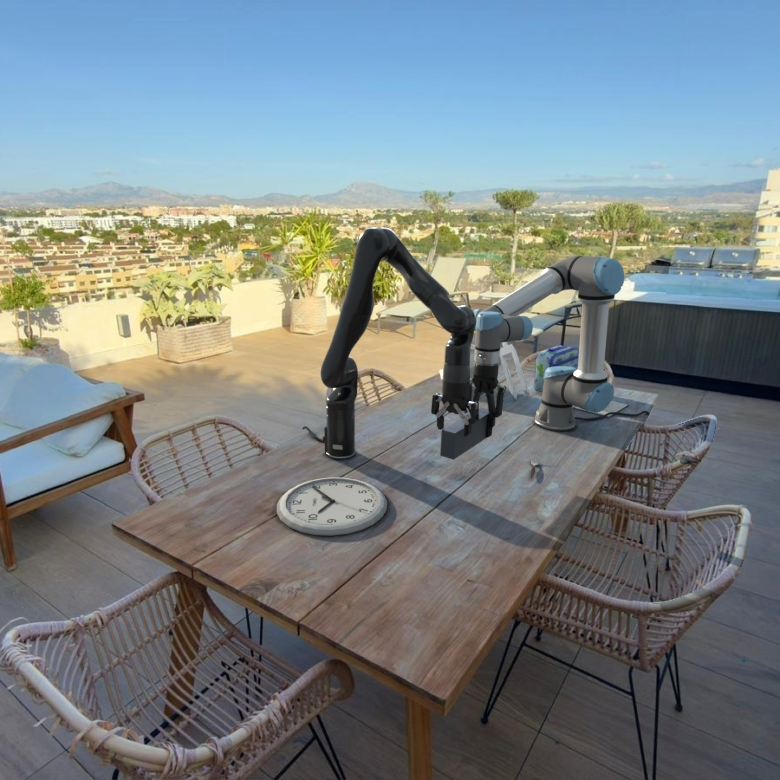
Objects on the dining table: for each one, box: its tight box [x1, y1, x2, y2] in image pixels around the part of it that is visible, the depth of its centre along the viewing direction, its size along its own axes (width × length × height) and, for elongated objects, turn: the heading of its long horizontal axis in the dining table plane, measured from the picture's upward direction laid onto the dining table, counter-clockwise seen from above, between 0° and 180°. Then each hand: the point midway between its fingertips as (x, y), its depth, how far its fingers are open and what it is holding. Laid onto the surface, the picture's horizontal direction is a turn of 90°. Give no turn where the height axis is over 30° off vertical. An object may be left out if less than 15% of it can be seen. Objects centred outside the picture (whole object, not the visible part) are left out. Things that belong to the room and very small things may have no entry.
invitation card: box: [573, 400, 629, 418], centre depth 226 cm, size 21×1×15 cm
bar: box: [439, 407, 489, 461], centre depth 158 cm, size 24×4×8 cm, turn 143°
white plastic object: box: [438, 342, 531, 400], centre depth 245 cm, size 37×45×31 cm
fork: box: [530, 454, 541, 480], centre depth 166 cm, size 3×16×2 cm, turn 160°
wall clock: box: [276, 476, 388, 537], centre depth 142 cm, size 30×2×30 cm
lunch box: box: [533, 345, 579, 393], centre depth 245 cm, size 26×11×21 cm, turn 135°
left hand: (453, 432), depth 151 cm, fingers open, 8 cm apart
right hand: (481, 434), depth 166 cm, fingers closed on bar, 4 cm apart
